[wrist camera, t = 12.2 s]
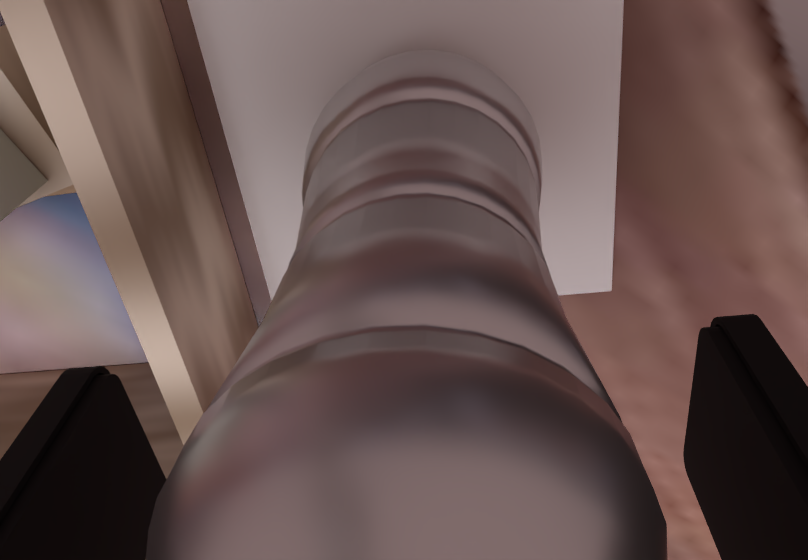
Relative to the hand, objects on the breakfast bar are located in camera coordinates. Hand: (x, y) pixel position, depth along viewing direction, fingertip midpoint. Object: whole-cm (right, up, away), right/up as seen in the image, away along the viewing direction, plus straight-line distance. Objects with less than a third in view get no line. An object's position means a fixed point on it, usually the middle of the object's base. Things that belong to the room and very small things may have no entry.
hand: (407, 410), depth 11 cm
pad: (+1, +7, +10) cm, 12 cm away
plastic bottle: (+1, +6, +10) cm, 12 cm away
